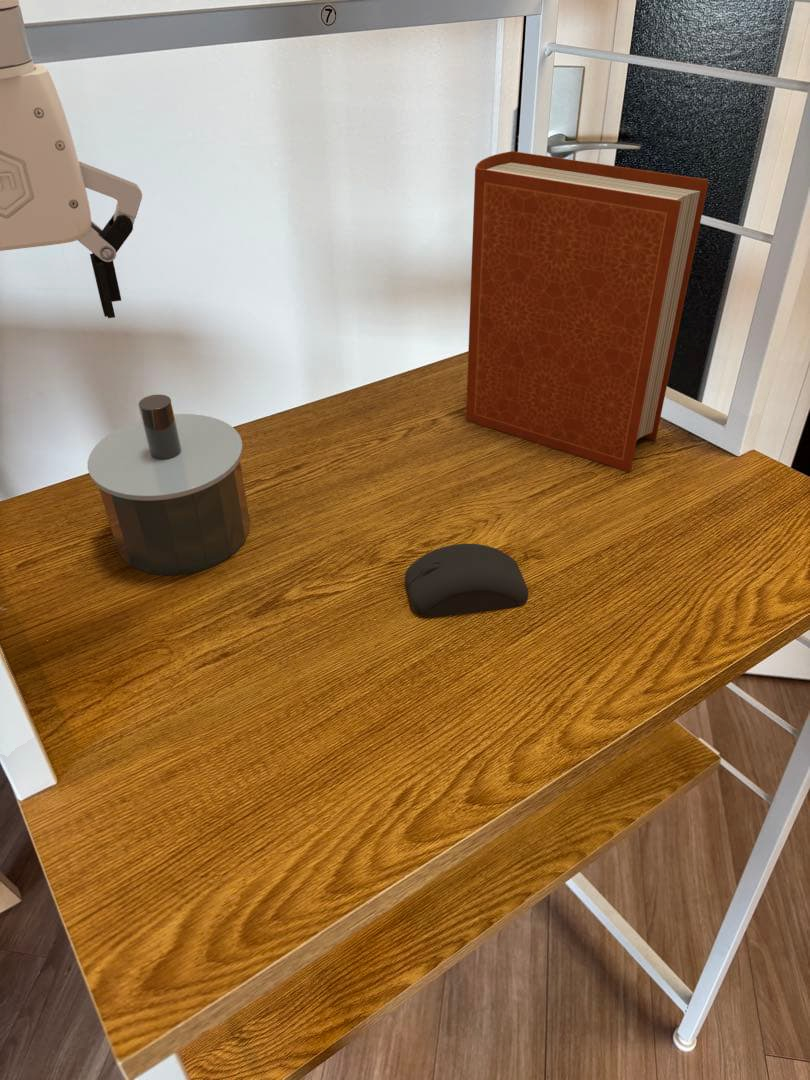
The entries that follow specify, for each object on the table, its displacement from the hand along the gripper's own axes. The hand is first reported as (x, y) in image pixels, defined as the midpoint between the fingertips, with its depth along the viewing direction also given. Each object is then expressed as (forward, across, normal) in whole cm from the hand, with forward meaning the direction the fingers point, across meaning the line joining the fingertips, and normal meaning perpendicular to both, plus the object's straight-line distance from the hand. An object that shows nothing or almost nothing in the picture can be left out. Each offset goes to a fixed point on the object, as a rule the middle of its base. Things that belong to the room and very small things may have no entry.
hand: (39, 320), depth 59 cm
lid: (+20, +7, +11) cm, 23 cm away
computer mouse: (+29, +31, -8) cm, 43 cm away
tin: (+29, +8, +11) cm, 32 cm away
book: (+28, +54, +14) cm, 63 cm away
